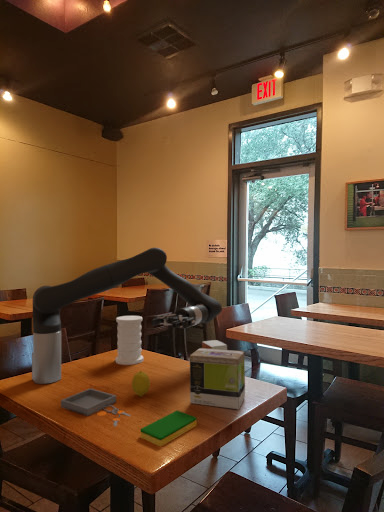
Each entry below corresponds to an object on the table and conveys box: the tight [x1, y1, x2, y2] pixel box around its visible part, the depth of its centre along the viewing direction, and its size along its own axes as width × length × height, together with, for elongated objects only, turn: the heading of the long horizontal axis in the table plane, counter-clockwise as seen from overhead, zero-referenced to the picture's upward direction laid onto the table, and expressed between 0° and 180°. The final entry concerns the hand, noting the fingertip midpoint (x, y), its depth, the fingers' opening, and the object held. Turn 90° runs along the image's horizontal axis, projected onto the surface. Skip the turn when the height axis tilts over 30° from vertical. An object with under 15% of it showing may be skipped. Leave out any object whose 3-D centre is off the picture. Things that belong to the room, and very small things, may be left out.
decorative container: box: [114, 315, 144, 366], centre depth 152 cm, size 12×12×18 cm
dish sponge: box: [140, 410, 198, 447], centre depth 92 cm, size 7×14×2 cm, turn 141°
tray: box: [60, 387, 117, 417], centre depth 108 cm, size 11×11×2 cm
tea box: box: [189, 347, 246, 410], centre depth 111 cm, size 15×10×15 cm
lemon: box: [131, 370, 151, 397], centre depth 114 cm, size 6×6×8 cm
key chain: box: [96, 404, 132, 427], centre depth 101 cm, size 13×7×1 cm, turn 41°
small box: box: [201, 339, 228, 350], centre depth 130 cm, size 8×6×13 cm
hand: (162, 324), depth 123 cm, fingers open, 8 cm apart
